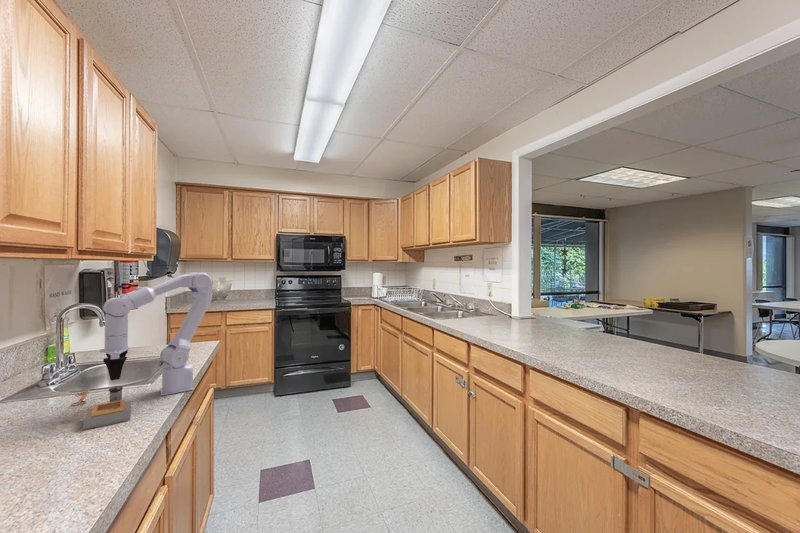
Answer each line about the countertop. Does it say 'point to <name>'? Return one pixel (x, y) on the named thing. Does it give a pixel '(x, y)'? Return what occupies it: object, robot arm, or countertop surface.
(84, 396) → the key
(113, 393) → the peg
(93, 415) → the chuck block
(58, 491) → the countertop surface
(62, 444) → the countertop surface
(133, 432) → the countertop surface
